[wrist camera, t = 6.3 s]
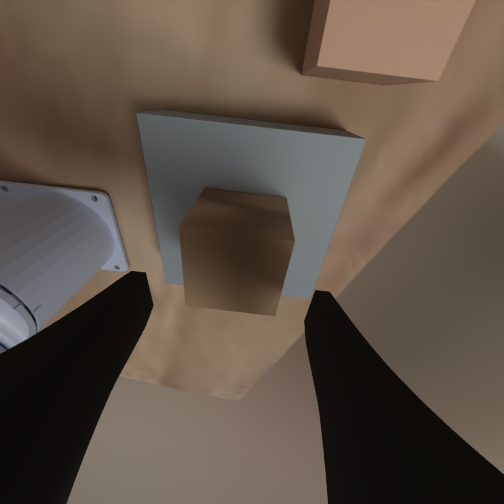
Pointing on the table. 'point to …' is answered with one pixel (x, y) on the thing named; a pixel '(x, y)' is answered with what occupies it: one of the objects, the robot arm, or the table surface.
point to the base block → (249, 178)
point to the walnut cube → (236, 251)
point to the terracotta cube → (383, 39)
